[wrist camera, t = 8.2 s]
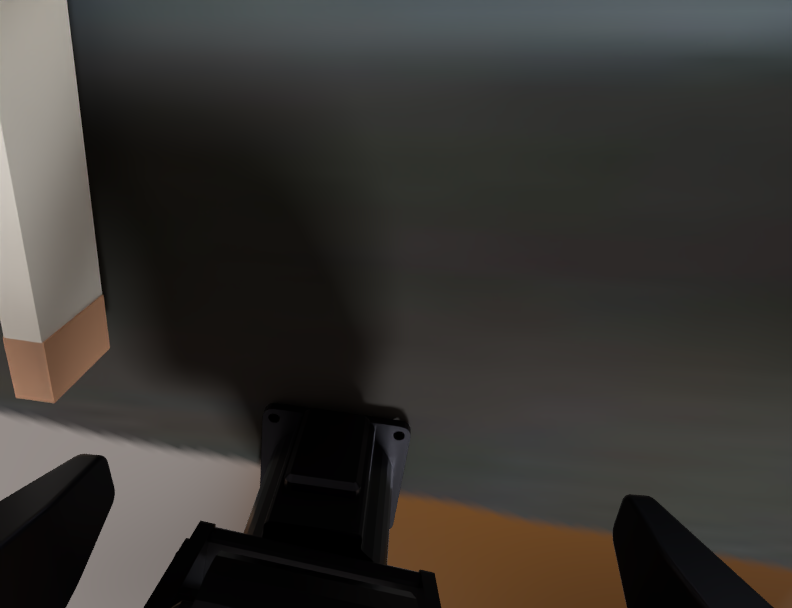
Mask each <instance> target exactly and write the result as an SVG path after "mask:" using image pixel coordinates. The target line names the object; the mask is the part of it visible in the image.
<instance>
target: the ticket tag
mask: <svg viewBox="0 0 792 608" xmlns="http://www.w3.org/2000/svg"><path fill="white" fill-rule="evenodd" d="M0 321H1V326H2V330H3V335H4V337H3V342H4V346H5V350H6V355H7V359H8V364H9V368H10V373H11V377H12V382H13V386H14V391H15V395H16V398H21V399H28V400H35V401H42V402H49V403H55V402H56V401H57V400H58V399H59V398H60V397H61V396H62V395H63V394H64V393H65V392H66V391H67V390H68V389H69V388H70V387H71V386H72V385H73V384H74V383H75V382H76V381H77V380H78V379H79V378H80V377H81V376H82V375H83V374H84V373H85V372H86V371H87V370H88V369H89V368H90V367H91V366H92V365H93V364H94V363H95V362H96V361H97V360H98V359H99V358H100V357H101V356H102V355H103V354H105V353H106V352H107V351H108V350H109V349H110V345H109V336H108V328H107V319H106V311H105V303H104V295H102V288H101V280H100V272H99V264H98V255H97V247H96V239H95V230H94V222H93V214H92V205H91V197H90V189H89V181H88V172H87V164H86V156H85V147H84V139H83V131H82V123H81V114H80V106H79V98H78V89H77V81H76V73H75V64H74V56H73V48H72V40H71V31H70V23H69V15H68V6H67V0H0Z"/></svg>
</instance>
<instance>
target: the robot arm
mask: <svg viewBox="0 0 792 608" xmlns="http://www.w3.org/2000/svg"><path fill="white" fill-rule="evenodd" d="M272 413H275V414H277V415H278V416H279V417H275V416H273V415H272ZM397 431H401V432H403V434H396V433H395V432H397ZM409 441H410V427H409V425H408V424H407V423H405V422H403V421H398V420H391V419H384V418H377V417H370V416H363V415H356V414H349V413H342V412H335V411H328V410H321V409H313V408H306V407H299V406H292V405H285V404H278V403H272V404H269V405H268V406H267V407H266V409H265V411H264V414H263V422H262V450H261V478H260V479H261V481H260V489H259V491H258V494H257V497H256V500H255V503H254V505H253V508H252V511H251V513H250V516H249V519H248V522H247V524H246V527H245V530H244V533H240V532H236V531H231V530H227V529H222V528H217V527H215V524H212V523H208V522H204V521H200V522H199V524H198V526H197V527H196V529H195V531H194V532H193V534H192V536H191V537H190V539H188V538H186V539H185V541H184V542H183V544H182V546H181V547H180V549H179V551H178V552H177V553H176V554H175V557H174V559H173V560H172V562H171V564H170V565H169V567H168V569H167V570H166V572H165V573H164V575H163V577H162V578H161V580H160V582H159V583H158V585H157V586H156V588H155V590H154V591H153V593H152V595H151V596H150V598H149V600H148V601H147V603H146V604H145V606H144V608H441V604H440V599H439V594H438V589H437V583H436V578H435V574H434V573H432V572H428V571H424V570H419V572H415V571H411V570H407V569H402V568H397V567H393V566H388V565H387V556H388V542H389V529H390V528H391V527H392V526H393V522H394V517H395V512H396V507H397V502H398V497H399V492H400V487H401V482H402V477H403V472H404V467H405V462H406V457H407V452H408V447H409ZM114 495H115V490H114V485H113V481H112V477H111V473H110V469H109V465H108V462H107V459H106V458H105V457H104V456H101V455H90V454H80V455H77V456H76V457H73V458H72V459H70V460H68V461H67V462H65V463H63V464H62V465H60V466H58V467H57V468H55V469H53V470H52V471H50V472H48V473H47V474H45V475H43V476H42V477H40V478H38V479H37V480H35V481H33V482H32V483H30V484H28V485H27V486H25V487H23V488H21V489H20V490H18V491H16V492H15V493H13V494H11V495H10V496H9V497H6V498H5V499H3V500H1V501H0V608H65V607H66V606H67V604H68V602H69V600H70V598H71V596H72V594H73V592H74V591H75V589H76V586H77V584H78V582H79V580H80V578H81V576H82V574H83V571H84V569H85V566H86V564H87V562H88V559H89V557H90V555H91V553H92V550H93V548H94V546H95V543H96V541H97V539H98V536H99V534H100V532H101V529H102V527H103V525H104V522H105V520H106V518H107V515H108V513H109V511H110V509H111V506H112V504H113V500H114ZM613 543H614V548H615V552H616V557H617V562H618V567H619V571H620V576H621V580H622V586H623V591H624V595H625V600H626V605H627V608H773V607H772V606H771V605H770V604H769V603H768V602H767V601H765V599H763V598H762V597H761V596H760V595H759V594H758V593H757V592H756V591H755V590H754V589H752V588H751V587H750V586H749V585H748V584H747V583H746V582H745V581H744V580H743V579H742V578H740V577H739V576H738V575H737V574H736V573H735V572H734V571H733V570H732V569H731V568H729V567H728V566H727V565H726V564H725V563H724V562H723V561H722V560H721V559H720V558H718V557H717V556H716V555H715V554H714V553H713V552H712V551H711V550H710V549H709V548H707V547H706V546H705V545H704V544H703V543H702V542H701V541H700V540H699V539H698V538H696V537H695V536H694V535H693V534H692V533H691V532H690V531H689V530H688V529H687V528H685V527H684V526H683V525H682V524H681V523H680V522H679V521H678V520H677V519H676V518H675V517H673V516H672V515H671V514H670V513H669V512H668V511H667V510H666V509H665V508H664V507H662V506H661V505H660V504H659V503H658V502H657V501H656V500H655V499H653V498H652V497H650V496H644V495H631V494H629V495H626V496H625V497H624V498H623V500H622V503H621V506H620V509H619V512H618V515H617V518H616V521H615V523H614V527H613Z"/></svg>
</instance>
